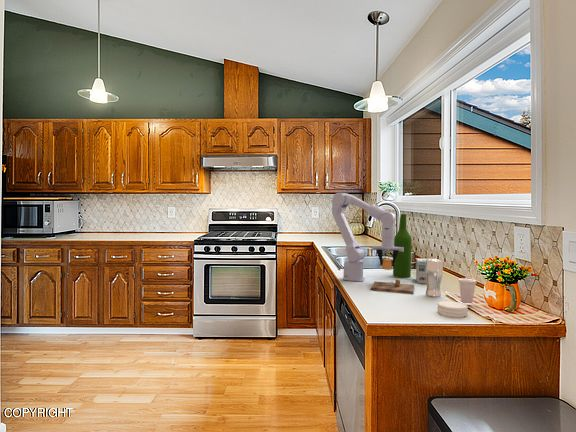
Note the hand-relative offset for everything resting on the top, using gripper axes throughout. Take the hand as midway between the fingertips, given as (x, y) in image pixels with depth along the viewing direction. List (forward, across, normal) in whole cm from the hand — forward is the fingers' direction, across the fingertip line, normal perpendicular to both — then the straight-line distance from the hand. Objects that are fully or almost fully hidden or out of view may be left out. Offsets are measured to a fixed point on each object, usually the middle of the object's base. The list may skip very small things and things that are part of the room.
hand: (387, 265), depth 190 cm
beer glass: (+9, +20, -16) cm, 28 cm away
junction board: (+8, +4, -10) cm, 14 cm away
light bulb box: (+9, +17, +12) cm, 23 cm away
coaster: (+9, +26, -42) cm, 51 cm away
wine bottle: (+9, +6, +22) cm, 24 cm away
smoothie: (+9, +32, -28) cm, 43 cm away
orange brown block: (+1, 0, 0) cm, 1 cm away
